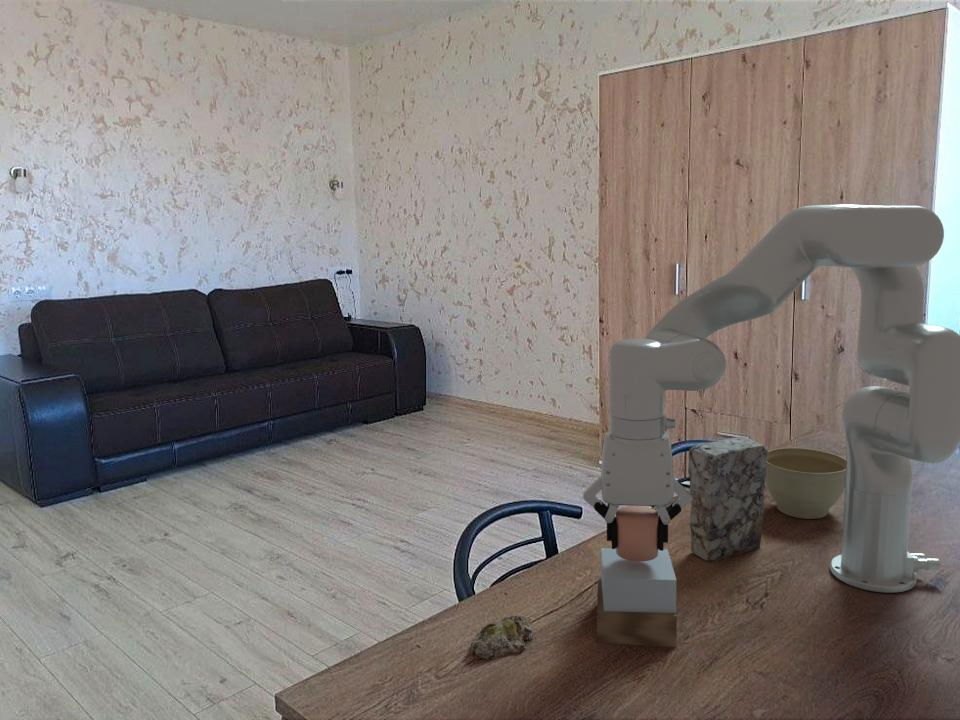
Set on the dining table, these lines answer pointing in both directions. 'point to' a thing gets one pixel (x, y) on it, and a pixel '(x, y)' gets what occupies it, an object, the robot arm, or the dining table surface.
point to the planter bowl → (805, 481)
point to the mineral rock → (503, 638)
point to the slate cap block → (638, 583)
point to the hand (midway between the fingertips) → (636, 544)
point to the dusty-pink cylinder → (637, 533)
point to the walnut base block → (634, 626)
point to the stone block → (726, 497)
